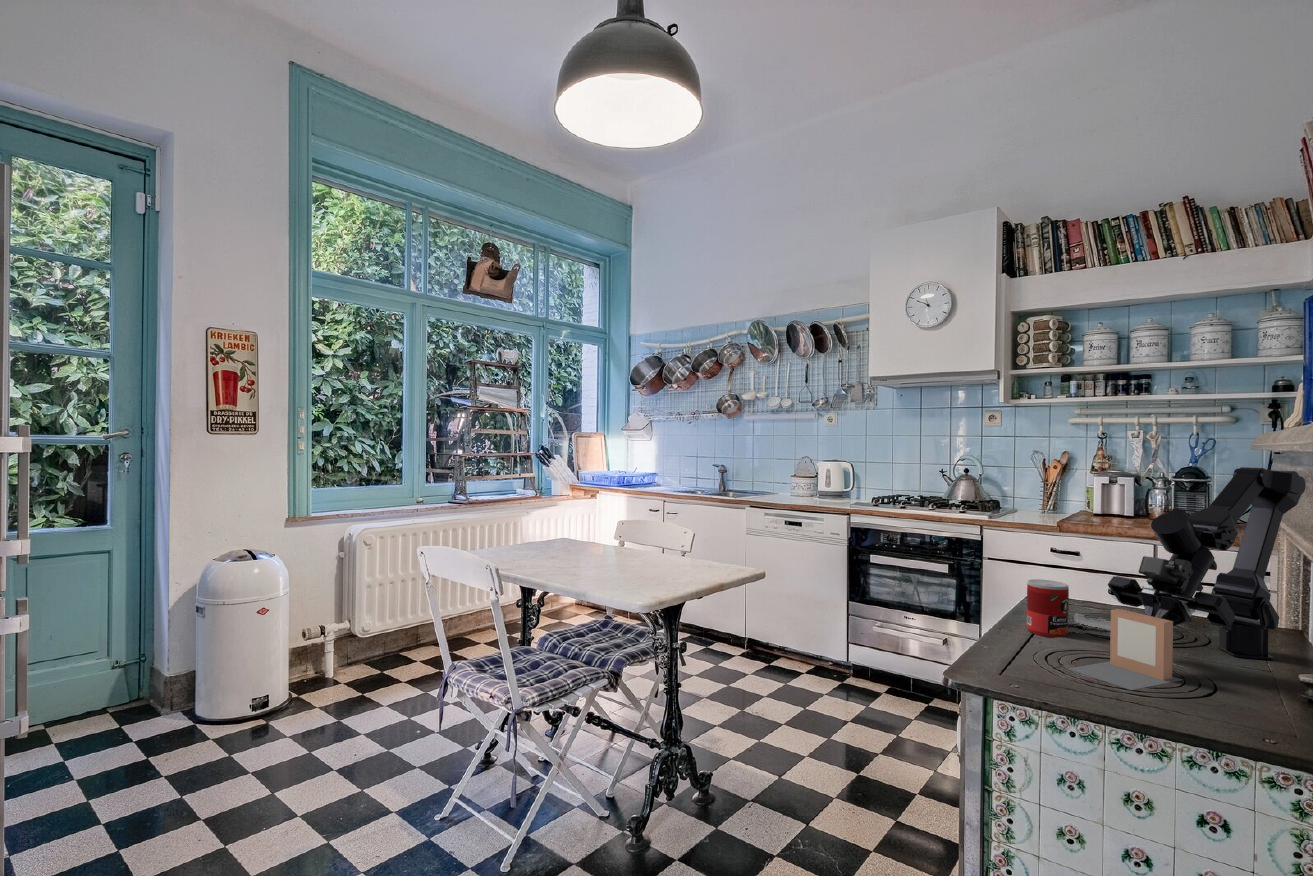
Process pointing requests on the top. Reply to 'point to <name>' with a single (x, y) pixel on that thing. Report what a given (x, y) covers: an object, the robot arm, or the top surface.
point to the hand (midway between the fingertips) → (1146, 634)
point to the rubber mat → (1120, 676)
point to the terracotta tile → (1141, 643)
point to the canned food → (1047, 608)
